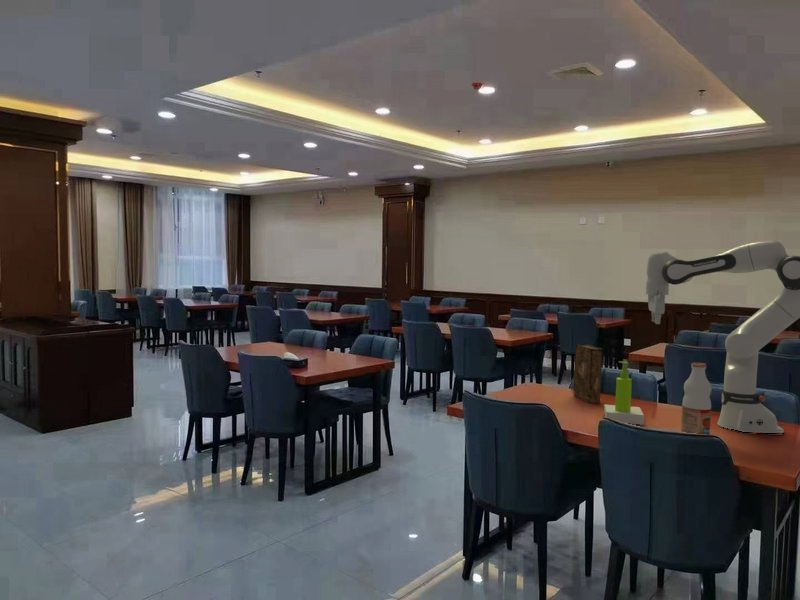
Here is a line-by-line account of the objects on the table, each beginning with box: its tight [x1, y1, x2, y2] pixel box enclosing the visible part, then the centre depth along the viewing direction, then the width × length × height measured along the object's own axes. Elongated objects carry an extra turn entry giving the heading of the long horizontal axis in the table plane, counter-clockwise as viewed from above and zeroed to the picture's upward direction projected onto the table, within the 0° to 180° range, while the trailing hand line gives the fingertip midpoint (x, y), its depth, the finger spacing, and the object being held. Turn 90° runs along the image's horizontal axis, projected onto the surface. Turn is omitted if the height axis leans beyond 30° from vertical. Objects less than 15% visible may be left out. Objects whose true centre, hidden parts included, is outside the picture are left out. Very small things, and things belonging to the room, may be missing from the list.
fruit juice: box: [680, 361, 712, 435], centre depth 217 cm, size 9×9×28 cm
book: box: [573, 344, 603, 404], centre depth 278 cm, size 16×6×25 cm, turn 10°
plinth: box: [603, 403, 645, 426], centre depth 244 cm, size 14×14×4 cm
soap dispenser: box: [614, 360, 633, 412], centre depth 242 cm, size 6×7×20 cm
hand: (655, 323), depth 252 cm, fingers open, 8 cm apart
